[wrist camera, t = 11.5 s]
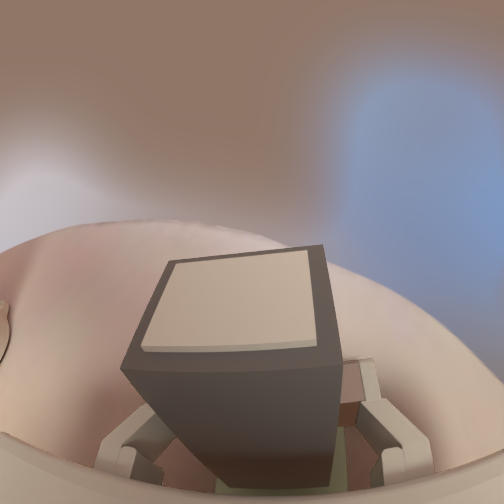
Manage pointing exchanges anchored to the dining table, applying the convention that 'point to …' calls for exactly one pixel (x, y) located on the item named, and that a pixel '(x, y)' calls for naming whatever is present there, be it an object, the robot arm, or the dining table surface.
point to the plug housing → (245, 364)
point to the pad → (336, 486)
